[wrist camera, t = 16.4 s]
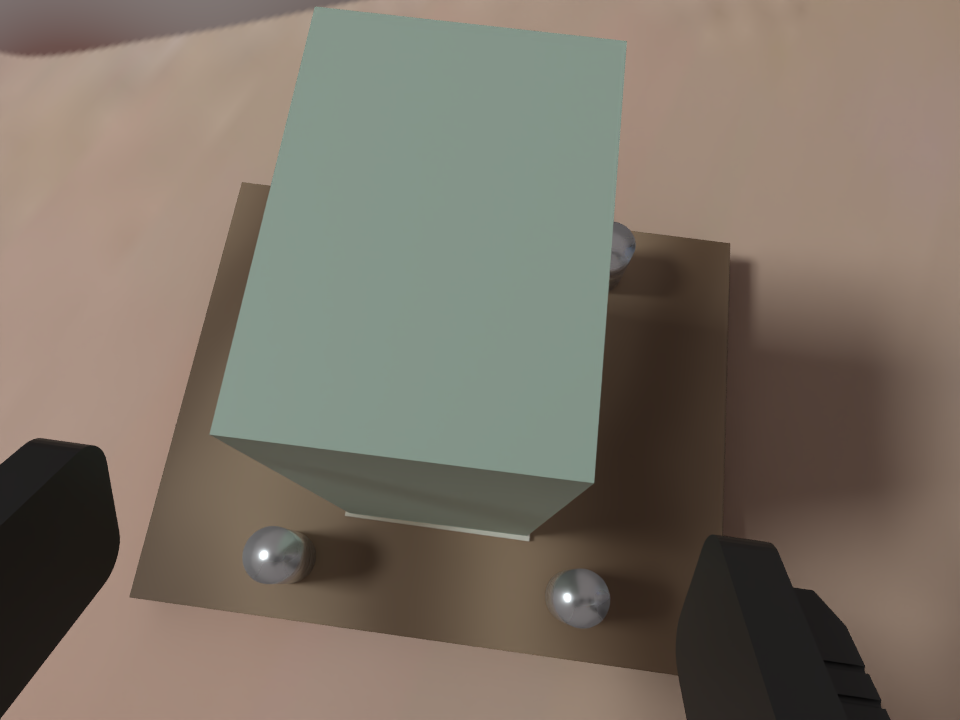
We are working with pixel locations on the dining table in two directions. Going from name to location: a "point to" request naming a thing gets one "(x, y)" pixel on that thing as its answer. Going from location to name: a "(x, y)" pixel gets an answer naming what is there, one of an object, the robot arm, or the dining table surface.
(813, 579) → the dining table surface
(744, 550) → the robot arm
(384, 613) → the plate
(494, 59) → the green block
